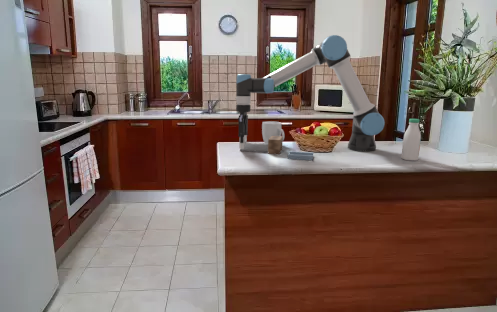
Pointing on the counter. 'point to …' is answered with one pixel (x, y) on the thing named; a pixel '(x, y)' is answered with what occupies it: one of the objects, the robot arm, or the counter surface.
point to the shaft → (255, 147)
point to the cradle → (300, 155)
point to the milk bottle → (411, 141)
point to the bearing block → (275, 144)
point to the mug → (271, 130)
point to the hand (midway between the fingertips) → (243, 147)
